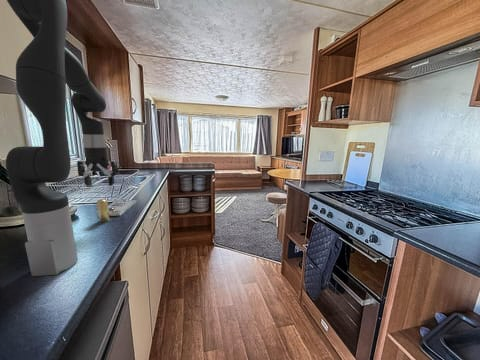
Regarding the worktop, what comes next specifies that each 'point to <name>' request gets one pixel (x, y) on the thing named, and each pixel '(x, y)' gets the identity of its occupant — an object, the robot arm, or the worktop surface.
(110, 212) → the grey flat block
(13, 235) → the worktop surface
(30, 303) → the worktop surface
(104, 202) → the pin
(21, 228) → the worktop surface
